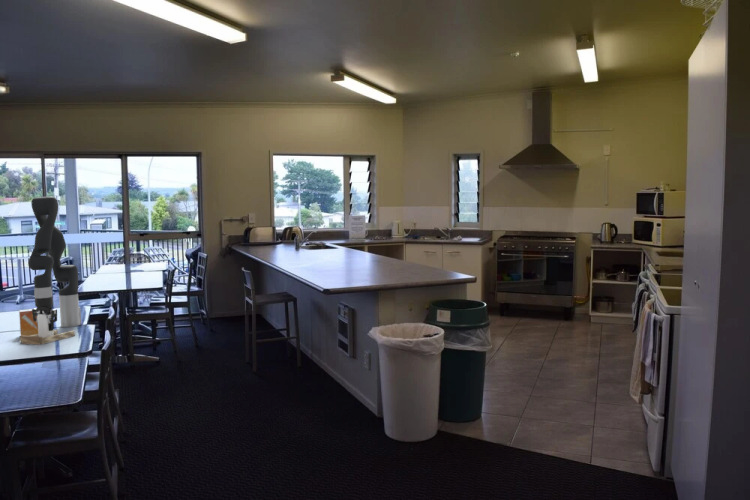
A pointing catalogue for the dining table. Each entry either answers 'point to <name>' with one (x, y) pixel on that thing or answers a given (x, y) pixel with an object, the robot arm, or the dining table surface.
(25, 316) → the small box
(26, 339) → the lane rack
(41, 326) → the white carton
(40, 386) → the dining table surface
